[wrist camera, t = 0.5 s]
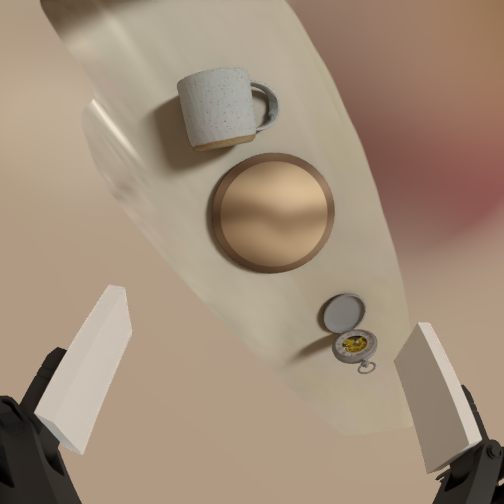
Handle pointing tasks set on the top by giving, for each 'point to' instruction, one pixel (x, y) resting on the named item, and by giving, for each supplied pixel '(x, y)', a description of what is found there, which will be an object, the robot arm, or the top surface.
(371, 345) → the pocket watch
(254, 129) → the ceramic mug
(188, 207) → the top surface
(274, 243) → the brown round plate
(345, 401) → the top surface
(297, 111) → the top surface
